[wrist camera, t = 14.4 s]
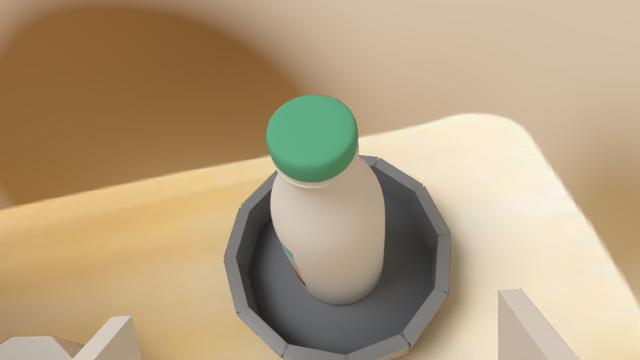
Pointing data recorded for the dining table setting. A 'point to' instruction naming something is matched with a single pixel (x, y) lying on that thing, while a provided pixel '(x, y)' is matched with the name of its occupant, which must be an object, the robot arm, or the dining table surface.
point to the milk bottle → (326, 200)
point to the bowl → (351, 319)
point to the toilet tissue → (38, 348)
